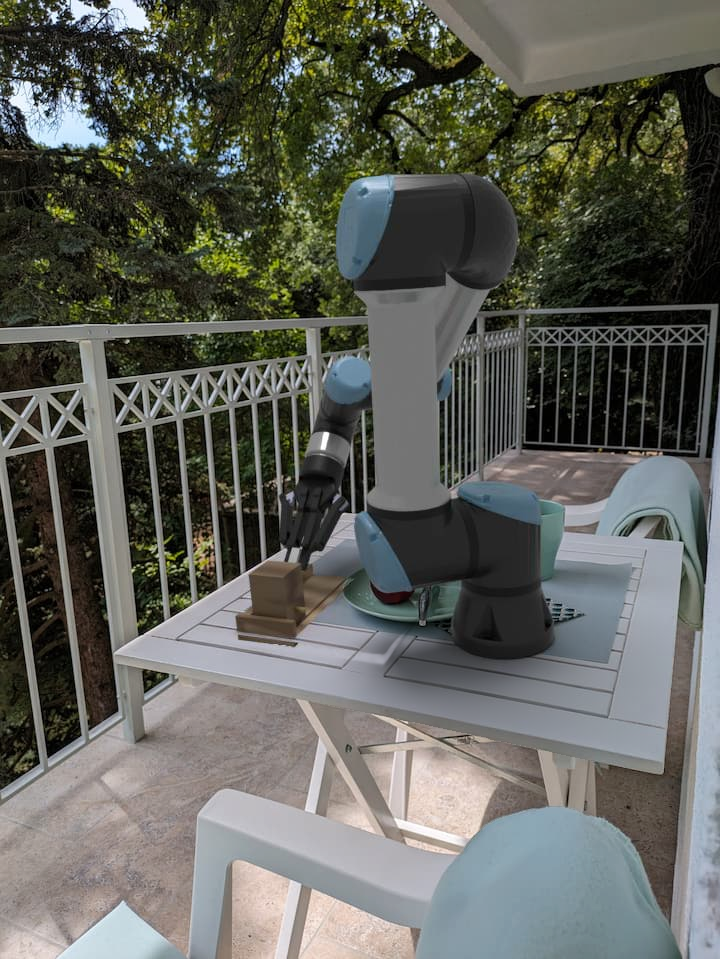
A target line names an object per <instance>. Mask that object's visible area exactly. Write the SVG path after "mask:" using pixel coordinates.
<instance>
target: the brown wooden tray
mask: <svg viewBox="0 0 720 959" xmlns="http://www.w3.org/2000/svg"><path fill="white" fill-rule="evenodd" d="M313 566H314V565H313V563H309V564H308V567H307V569H306V571H302V580H303V591H304V601H305V608H306V616H305V617H304V618H303V619H302V620H301V621H300V622H299V623H298V624H296V622H295V620H288V619H280V618H272V617H263V616H255V615H253V609H252V605H251V606H250V607H249V608H248V609H246V610H245V611H244V612H243V613H236V615H235V616H234V617H235V625H236V631H237V632H241V633H248V634H256V635H263V636H272V637H277V638H278V637H279V638H286V639H292V640H293V639H295V638H296V637H297V636H298V635H299V634H300V633H301V632H303V631H304V630H305V628H307V627H308V625H309V624H311V623H312V622H313V621H314V620H315V618H317V617H318V616H319V615H320V614H321V613H322V612H323V611H324V610H325V609H326V608H327V607H328V606H330V604H331V603H332V602H333V601H334V600H335V599H336V598H337V597H338V596H339V595H340V594H342V592H343V591H344V590H343V586H344V583H345V581H346V580H347V579H348V578H349V577H347V576H346V577H345V576H344V577H343V576H336V575H334V576H333V575H325V574H314V569H313V568H314V567H313ZM237 639H238V640H240V641H245V642H246V641H247V642H252V643H253V642H255V643H261V644H266V643H267V645H273V644H278V645H277V646H281V645H286V646H285V647H288V646H291V647H290V648H296V647H297V646H298V645H299V644H298V643H299V642H297V641H296V642H295V641H290V640H289V641H287V640H282V639H276V638H275V639H274V638H268V637H267V638H266V637H258V636H251V635H243V634H237ZM297 644H298V645H297ZM296 645H297V646H296ZM295 646H296V647H295Z"/></svg>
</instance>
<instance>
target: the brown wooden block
mask: <svg viewBox="0 0 720 959" xmlns="http://www.w3.org/2000/svg"><path fill="white" fill-rule="evenodd" d="M248 581H249V589H250V600H251V606H252V609H253V615H255V616H263V617H272V618H280V619H288V620H295V622H296V624H298V623H299V622H300V621H301V620H302V619H303V618H304V617H305V616H306V608H305V601H304V591H303V580H302V570H301V563H291V562H284V561H279V560H266V561H265V562H264V563H262V564H261V565H259V566H258V567H257V568H255V569H254V570H252V571H251V572H249V573H248Z"/></svg>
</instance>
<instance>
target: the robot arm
mask: <svg viewBox="0 0 720 959" xmlns="http://www.w3.org/2000/svg"><path fill="white" fill-rule="evenodd" d="M503 192H504V191H502V190H501V189H500V188H499V187H498V186H497V185H496V184H494V183H493V182H492V181H490V180H488V179H486V178H484V177H483V176H479V175H477V174H473V173H467V172H460V173H459V172H458V173H457V172H455V173H452V174H451V173H449V174H448V173H445V174H442V173H441V174H439V173H438V174H437V173H436V174H432V173H431V174H419V173H418V174H384V175H383V174H382V175H378V176H377V175H376V176H369V177H368V176H367V177H361V178H359V179H356V180H355V181H353V182H352V183H351V184H349V187H347V189H346V191H345V193H344V195H343V199H342V201H341V205H340V207H339V212H338V217H337V223H336V224H337V226H336V236H335V238H336V239H335V254H336V260H337V267H338V270H339V273H340V275H341V276H342V277H343V278H344V279H347V280H349V281H353V294H355V296H357V298H359V299H360V300H361V301H362V302H363V303H364V304H365V306H366V309H367V311H366V313H367V329H368V330H367V332H368V346H369V362H367V361H366V360H365V359H363V358H359V357H356V356H353V355H349V356H343V357H341V358H339V359H337V360H336V361H335V362H334V363H333V364H332V366H331V368H330V370H329V371H328V374H327V377H326V379H325V382H324V389H323V395H322V396H321V398H320V401H319V405H318V406H319V407H318V409H317V410H318V411H317V414H316V417H315V420H314V425H313V428H312V432H311V435H310V437H309V440H308V443H307V447H306V451H305V453H304V458H303V459H302V460H303V461H302V464H301V466H300V471H299V474H298V481H297V483H296V485H294V487H293V490H292V491H291V492H289V493H287V494H285V493H284V492H283V493H280V494H279V495H278V498H279V502H280V505H281V507H280V522H279V534H278V535H279V538H278V541H279V543H280V545H281V546H283V548H284V549H286V554H285V556H284V560H283V562H291V563H301V570H302V571H306V569H307V567H308V564H310V560H311V556H312V554H314V553H315V552H320V553H321V552H323V551H324V549H325V548H326V546H327V544H328V542H329V540H330V538H331V536H332V534H333V533H334V530H335V529H336V526H337V525H338V523H339V520H340V518H341V516H342V515H343V514H344V513H345V512H346V511H347V510H348V509H349V508H350V503H349V502H348V501H347V499H346V498H345V496H343V495H341V492H340V487H341V485H342V480H343V478H344V473H345V468H346V465H347V462H348V459H349V455H350V451H351V447H352V443H353V442H352V441H353V439H354V436H355V433H356V430H357V429H356V428H357V427H358V423H359V420H360V417H361V414H362V413H363V411H369V410H372V422H373V438H374V440H373V441H374V442H373V443H374V456H375V474H376V475H375V476H376V477H375V478H376V484H375V486H374V487H372V490H370V491H369V492H368V493H367V495H366V511H365V510H361V511H360V512H359V513H357V514H356V515H355V516H354V523H353V527H354V528H353V529H354V536H355V540H356V545H357V546H356V547H357V549H358V552H359V556H360V559H361V563H362V565H363V567H364V571H365V573H366V574H367V576H368V578H369V581H370V583H372V585H373V586H374V587H375V588H376V589H377V590H378V591H380V592H382V593H385V594H391V593H392V594H393V593H399V592H406V593H407V592H409V593H410V592H412V591H413V590H419V589H423V588H428V587H433V586H439V585H443V584H444V585H445V584H448V583H454V582H458V581H461V582H460V583H461V586H460V591H459V594H458V597H457V599H456V603H455V607H454V611H453V614H452V617H451V621H450V622H451V623H450V626H451V638H452V640H453V642H454V644H456V645H457V646H458V647H459V648H461V649H463V650H464V651H466V652H468V653H470V654H474V655H477V656H480V657H486V658H491V659H518V658H519V659H521V658H526V657H531V656H533V655H537V654H539V653H541V652H543V651H545V650H547V648H549V647H551V645H552V643H553V642H554V641H555V622H554V618H553V616H552V613H551V610H550V607H549V605H548V602H547V599H546V596H545V593H544V590H543V587H542V525H543V523H544V521H543V519H542V518H543V517H542V510H541V501H540V498H539V497H538V495H537V494H536V493H535V492H534V490H533V491H532V490H531V489H529V488H526V487H525V486H521V485H517V484H512V483H509V482H508V483H507V482H501V481H500V482H498V481H491V480H489V481H488V480H487V481H486V480H483V481H480V480H479V481H478V480H477V481H467V482H465V483H462V484H460V485H459V486H458V488H457V490H456V496H457V497H455V498H452V492H451V491H450V490H449V489H448V488H447V487H446V486H445V485H444V484H443V483H442V482H441V480H440V479H441V478H440V452H439V451H440V450H439V449H440V448H439V446H440V445H439V422H438V420H439V419H438V417H439V416H438V412H439V411H438V402H439V401H440V402H442V401H444V400H446V399H447V398H448V397H449V396H450V394H451V391H452V389H451V387H452V385H453V384H452V383H453V378H452V371H451V369H450V368H451V367H450V364H451V363H452V360H453V359H454V357H455V355H456V353H457V351H458V350H459V349H460V346H461V344H462V342H463V340H464V339H465V337H466V335H467V333H468V331H469V330H470V327H471V325H472V324H473V322H474V320H475V319H476V316H477V314H478V313H479V311H480V309H481V307H482V305H483V304H484V302H485V300H486V298H487V296H488V294H490V290H494V289H496V288H497V287H499V286H500V285H501V284H502V283H503V282H504V280H505V278H506V277H507V275H508V274H509V272H510V270H511V268H512V266H513V262H514V261H515V258H516V256H517V250H518V249H517V248H518V245H519V243H518V242H519V228H518V221H517V218H516V214H515V211H514V208H513V206H512V204H511V203H510V201H509V200H508V197H507V196H506V195H505V194H504V193H503ZM295 501H296V502H297V506H296V514H295V518H294V508H293V507H294V506H295ZM328 508H329V509H328ZM327 509H328V511H327ZM326 511H327V512H326ZM293 521H294V522H293Z"/></svg>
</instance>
